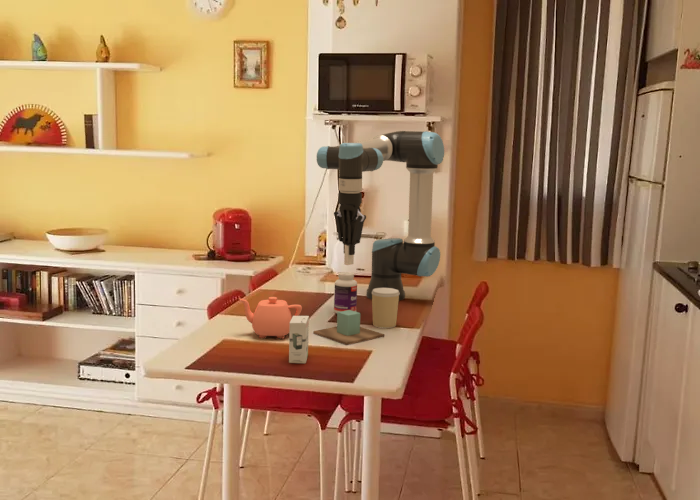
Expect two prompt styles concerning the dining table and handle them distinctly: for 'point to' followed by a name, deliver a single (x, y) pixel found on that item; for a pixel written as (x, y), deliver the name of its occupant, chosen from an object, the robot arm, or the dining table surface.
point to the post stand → (351, 339)
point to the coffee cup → (385, 307)
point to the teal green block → (348, 322)
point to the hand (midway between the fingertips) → (348, 264)
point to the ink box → (298, 339)
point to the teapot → (271, 317)
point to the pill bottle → (345, 293)
